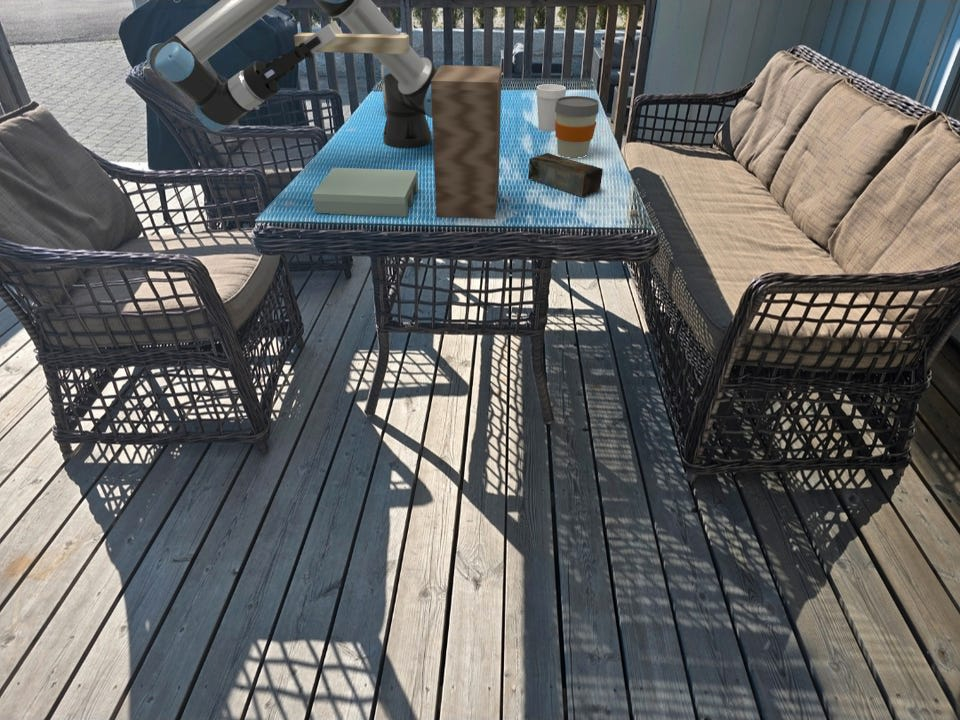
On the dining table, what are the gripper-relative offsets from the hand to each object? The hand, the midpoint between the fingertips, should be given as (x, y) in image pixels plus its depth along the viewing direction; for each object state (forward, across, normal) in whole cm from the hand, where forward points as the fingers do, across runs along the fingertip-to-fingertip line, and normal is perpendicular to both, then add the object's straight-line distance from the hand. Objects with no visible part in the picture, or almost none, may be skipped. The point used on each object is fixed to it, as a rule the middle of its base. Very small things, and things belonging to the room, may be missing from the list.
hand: (335, 28), depth 127 cm
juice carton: (-23, -79, -31) cm, 88 cm away
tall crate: (+6, 0, -47) cm, 48 cm away
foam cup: (+23, -68, -58) cm, 92 cm away
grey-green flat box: (-16, 0, -35) cm, 38 cm away
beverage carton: (+26, -16, -60) cm, 67 cm away
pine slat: (+1, 0, -5) cm, 5 cm away
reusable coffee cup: (+29, -42, -61) cm, 80 cm away
